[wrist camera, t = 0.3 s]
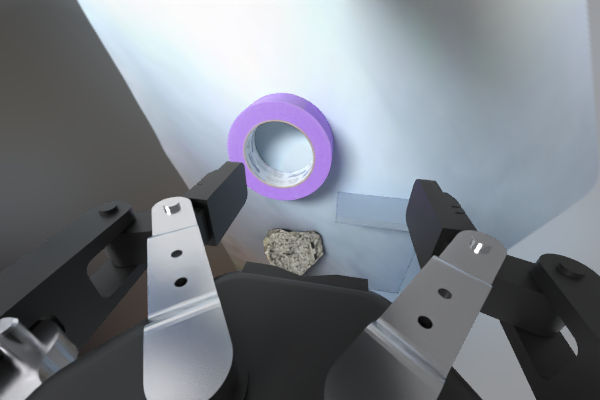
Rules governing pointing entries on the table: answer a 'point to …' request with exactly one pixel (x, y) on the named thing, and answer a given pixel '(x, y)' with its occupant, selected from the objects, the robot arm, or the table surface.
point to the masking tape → (294, 114)
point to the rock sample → (293, 249)
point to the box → (377, 223)
